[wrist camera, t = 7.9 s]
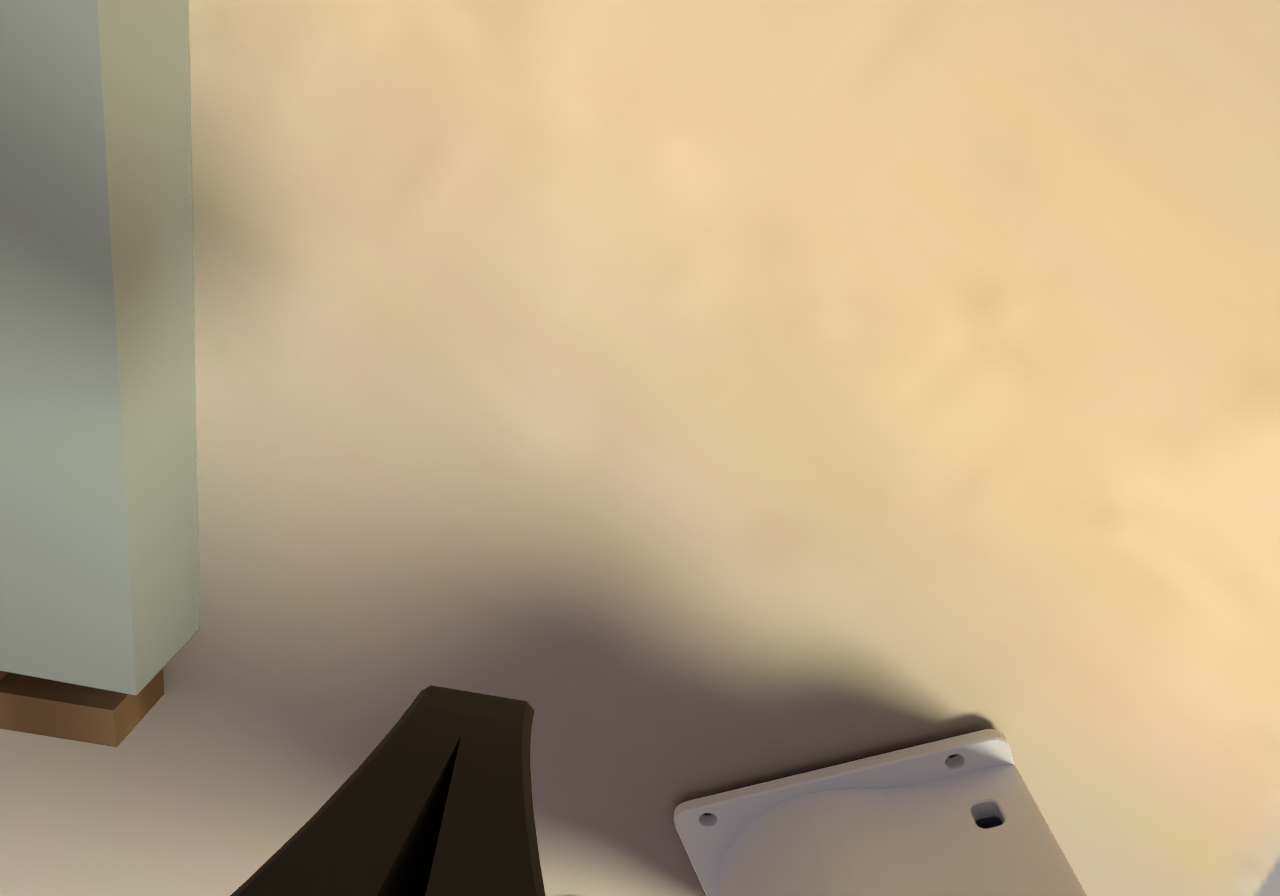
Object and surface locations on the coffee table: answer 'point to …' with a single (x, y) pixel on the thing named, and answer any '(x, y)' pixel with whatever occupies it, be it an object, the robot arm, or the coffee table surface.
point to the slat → (96, 341)
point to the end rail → (73, 708)
